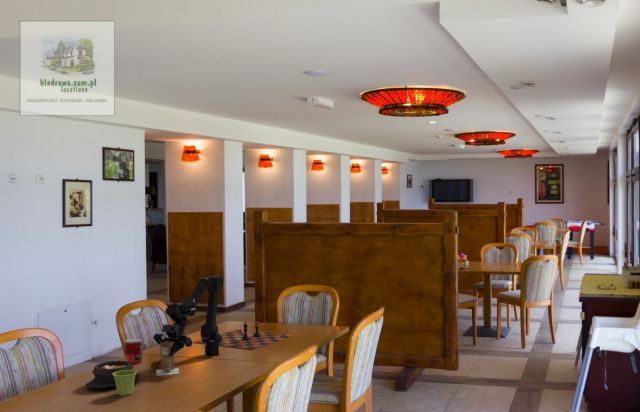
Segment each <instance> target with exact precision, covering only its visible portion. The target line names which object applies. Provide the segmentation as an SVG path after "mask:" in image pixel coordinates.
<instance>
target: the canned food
mask: <svg viewBox="0 0 640 412" xmlns="http://www.w3.org/2000/svg"><path fill="white" fill-rule="evenodd" d="M142 341H143V340H142V338H135V337H134V338H128V339H125V341H124V348H125V349H124V351H125V355H124V356H125V361H128V362H130V363H131V365H138V364H141V363H142V362H143V342H142Z"/></svg>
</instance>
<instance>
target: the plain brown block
mask: <svg viewBox="0 0 640 412" xmlns="http://www.w3.org/2000/svg"><path fill="white" fill-rule="evenodd" d="M173 345H174V342H171V341H164V342H162V343H160V345H159V347H160V348H159V350H160V353H161V355H160V359H161V361H160V365H161V367H160V369H161V370H163V371H171V370H173V369H175V368H176V367H175V354H174V355H172V356H171V357H170V356H169V354H170V352H171V349H172V347H173Z"/></svg>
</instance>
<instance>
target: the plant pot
mask: <svg viewBox="0 0 640 412" xmlns="http://www.w3.org/2000/svg"><path fill="white" fill-rule="evenodd" d="M136 373H138V372H137V370H133V369H132V370H123V371H117V372H114V373H113V376H114V379H115V383H116V387H115V388H116V393H117V395H118V396H120V397H121V396H124V397H125V396H128V395H133V394H134V386H135V380H136V378H135V374H136Z"/></svg>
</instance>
